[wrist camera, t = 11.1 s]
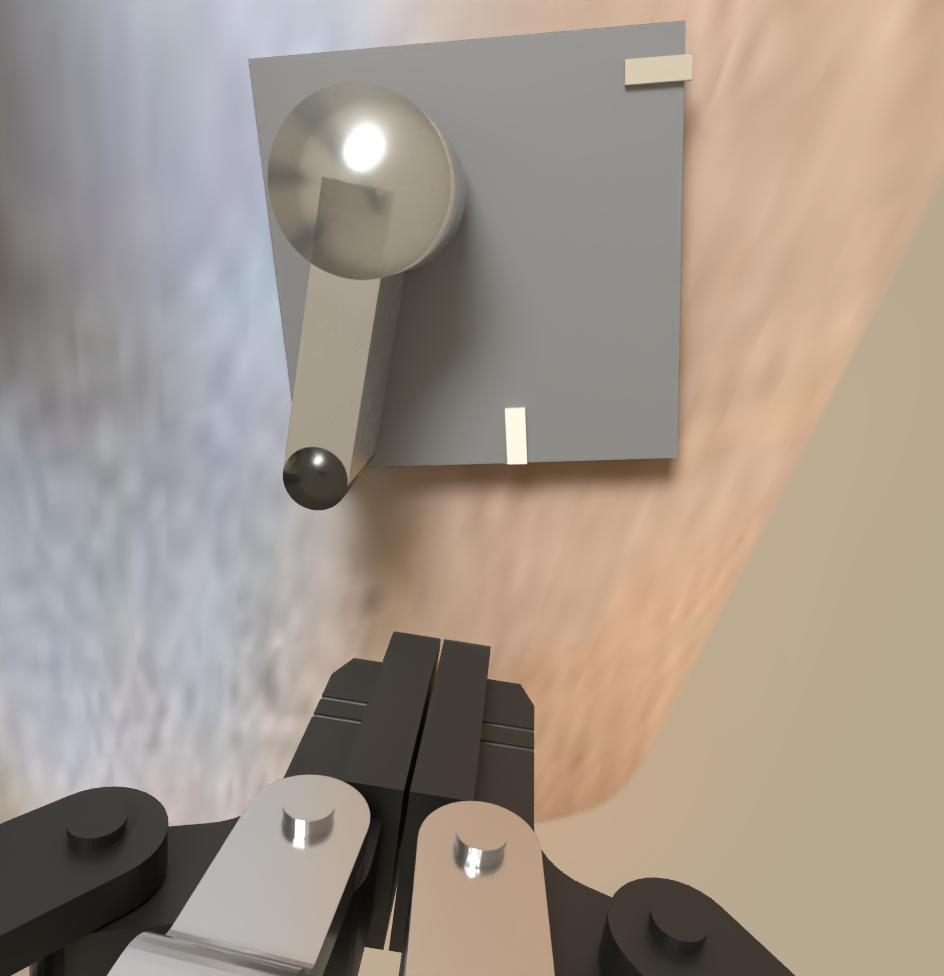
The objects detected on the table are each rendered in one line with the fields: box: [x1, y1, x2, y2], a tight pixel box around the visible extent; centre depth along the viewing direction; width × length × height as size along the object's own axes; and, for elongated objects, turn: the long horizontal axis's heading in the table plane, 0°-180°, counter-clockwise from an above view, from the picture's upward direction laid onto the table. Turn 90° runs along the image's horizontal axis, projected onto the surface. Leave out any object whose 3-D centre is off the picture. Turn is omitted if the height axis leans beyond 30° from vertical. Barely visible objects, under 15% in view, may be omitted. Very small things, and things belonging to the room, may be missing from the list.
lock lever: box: [268, 82, 466, 510], centre depth 25 cm, size 12×5×4 cm, turn 169°
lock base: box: [248, 21, 693, 467], centre depth 27 cm, size 14×14×2 cm
